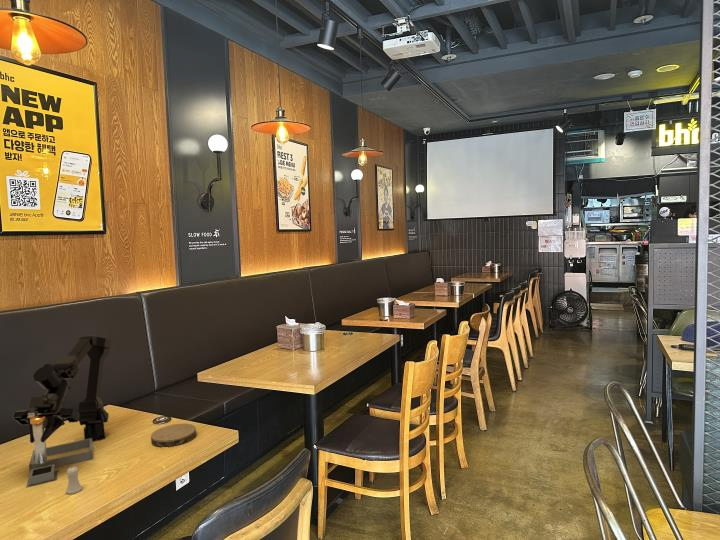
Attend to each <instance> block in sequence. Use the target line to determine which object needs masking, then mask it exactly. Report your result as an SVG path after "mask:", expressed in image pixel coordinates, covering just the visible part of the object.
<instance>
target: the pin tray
mask: <svg viewBox="0 0 720 540" xmlns="http://www.w3.org/2000/svg"><path fill="white" fill-rule="evenodd" d="M93 442H94V441H92V438H89V439H80V440H75V441H72V442H71V441H70V442H66V443H62V444H57V445H51V446H48V447H47V446H46V452H47V458H48V457H52V456H57V455H62V454H65V453H66V454H67V453H70V452H74V451H75V452H76V451H79V450H83V449H88V448H89V450H86V451H82V452H78V453H73V454H67V455H63V456H60V457H55V458H51V459H47V462H45V463H42V464H36V458H35V449H34V450H32V452H31V457H30V460H29V464H28V469H29V471H30V470H31V469H36V468H40V467H45V466H49V465H53V464H55V469H56V468H62V467H65V466H71V465H75V464H79V463H83V462H86V461H87V462H88V461H91V460H94V451H93V450H94V447H93V446H94V445H93Z"/></svg>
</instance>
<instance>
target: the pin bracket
mask: <svg viewBox="0 0 720 540" xmlns="http://www.w3.org/2000/svg"><path fill="white" fill-rule="evenodd" d="M58 475H59V469H57V470H56V468H55V464H53V465H49V466H45V467H40V468H36V469H31V470H29V474H28V478H27V483H26V486H25V488H32V487H34V486H38V485H39V486H40V485H43V484H48V483H51V482H55V481H58Z"/></svg>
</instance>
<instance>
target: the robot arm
mask: <svg viewBox="0 0 720 540" xmlns="http://www.w3.org/2000/svg"><path fill="white" fill-rule="evenodd" d="M111 347H112V341H111V339H109V337H101V336H96V335H93V334H92V335H83V336H80V337H79V340H78V341H77V343H76V344H75V345H74V346H73V348H72V349H71V350H70V352H68V354H67V355H66V356H65V357H62V358H59V359H58V360H57V361H56V362H54V363H53V364H52V363H44V365H43V366H42V367H40V368H38V369H37V370H36V371H35V372H34V374H33V380H34V381H35V382H36V383H37V384H39V386H40V387H42V389H43V390H46V392H45V394H43V395H41V396H30V398H29V403H28V408H29V409H21V410H16V411H14V412H13V414H12V417H11V419H12V420H13V421H15V422H16V423H17V424H18V425H20V426H29V441H30V443H31V444H34V437H33V426H32V424H30V418H32V417H34V416H38V415H45V420H46V422H47V423H46V426H45V427H44V430H45V431H44V433H43V436H42V439H41V442H45V441H47V440H48V439H49V438H50V437H51V436H52V435H53V434H54V433H55V432H56V431H57V430H58V429H59V428H61V427H62V426H64V425H65V424H66V423H65V421H67V422H68V423H78V422H79V425H80V426H84V427H83V437H84V439H89V438H92V442H94V441H100V440H104V439H106V432H105V423H108V422H109V417H110V416H109V415H110V414H109V413H108V412H107V410H105V409H104V407H105V406H104V405H105V404H104V402H103V400H102V398H101V390H102V381H103V380H102V379H103V373H104V372H103V371H104V362H105V360H106V358H107V357H108V355H109V354H110V350H111ZM86 355H87V356H88V358H89V366H88V375H87V384H86V392H85V397H84V399H83V400H82V401H80V402H79V404H78V409H77V410H76V409H75V407H62V406H65V403H66V402H65V401H64V400H65V397H66V394H67V392H68V391H69V390H72V386H71V385H70V381H67V380H69V379H75V378H76V377H77V375H78V373H79V371H80V363H81V362H82V361H83V359H84V358H85V357H86ZM31 408H33V410H34V411H35V412H31V411H30V409H31ZM66 419H67V420H66ZM84 439H83V440H84Z"/></svg>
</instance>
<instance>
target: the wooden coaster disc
mask: <svg viewBox="0 0 720 540" xmlns="http://www.w3.org/2000/svg"><path fill="white" fill-rule="evenodd" d="M196 429H197V428H196V426H195V425H194V424H192V423H191V424H190V423H175V424H170V425H165V426H162V427H160V428H158V429H156V430H155V431H153V432H152V433H151V435H150V440H151V441H150V442H151V445H152V446H153V447H156V448H160V449H161V448H162V447H168V448H174V446H175V447H179V446H181V445H184V444H187V443H190V442H191V441H193V440H194V439H195V438H196V437H197V436H196V435H197V430H196ZM162 449H163V448H162Z"/></svg>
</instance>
